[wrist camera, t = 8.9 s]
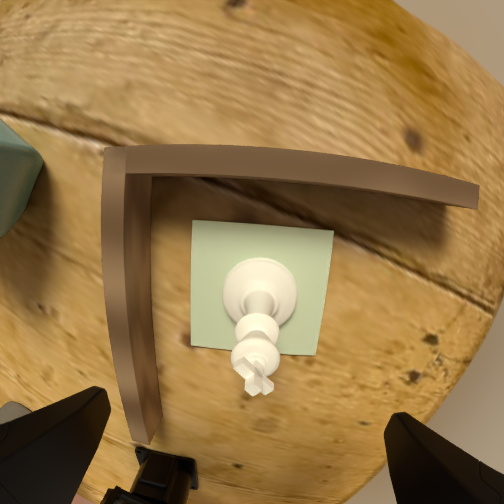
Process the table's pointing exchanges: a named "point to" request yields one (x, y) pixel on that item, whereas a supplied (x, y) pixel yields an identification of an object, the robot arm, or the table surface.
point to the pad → (252, 246)
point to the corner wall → (214, 166)
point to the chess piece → (258, 317)
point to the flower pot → (15, 175)
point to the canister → (12, 411)
